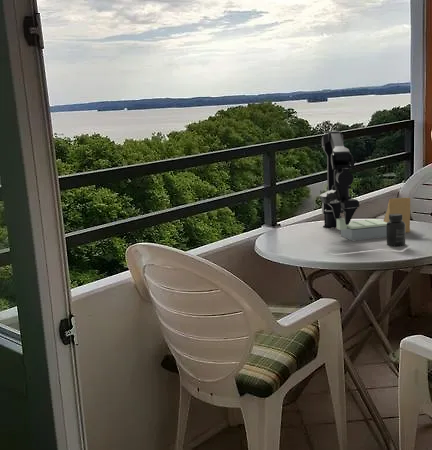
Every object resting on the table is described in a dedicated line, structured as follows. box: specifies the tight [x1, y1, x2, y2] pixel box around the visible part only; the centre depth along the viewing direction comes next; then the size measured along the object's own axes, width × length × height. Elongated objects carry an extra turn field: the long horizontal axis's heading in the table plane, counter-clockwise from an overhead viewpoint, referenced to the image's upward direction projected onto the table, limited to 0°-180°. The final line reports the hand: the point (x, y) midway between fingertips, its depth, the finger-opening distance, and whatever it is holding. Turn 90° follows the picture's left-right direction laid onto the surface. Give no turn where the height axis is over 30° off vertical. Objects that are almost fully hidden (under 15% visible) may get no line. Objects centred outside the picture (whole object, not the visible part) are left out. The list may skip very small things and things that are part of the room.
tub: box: [340, 226, 387, 242], centre depth 256 cm, size 16×10×5 cm, turn 105°
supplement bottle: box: [386, 214, 406, 248], centre depth 239 cm, size 7×7×12 cm
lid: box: [336, 217, 387, 231], centre depth 255 cm, size 19×10×4 cm, turn 105°
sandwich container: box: [383, 197, 411, 233], centre depth 266 cm, size 9×15×15 cm, turn 178°
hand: (341, 222), depth 253 cm, fingers open, 9 cm apart
